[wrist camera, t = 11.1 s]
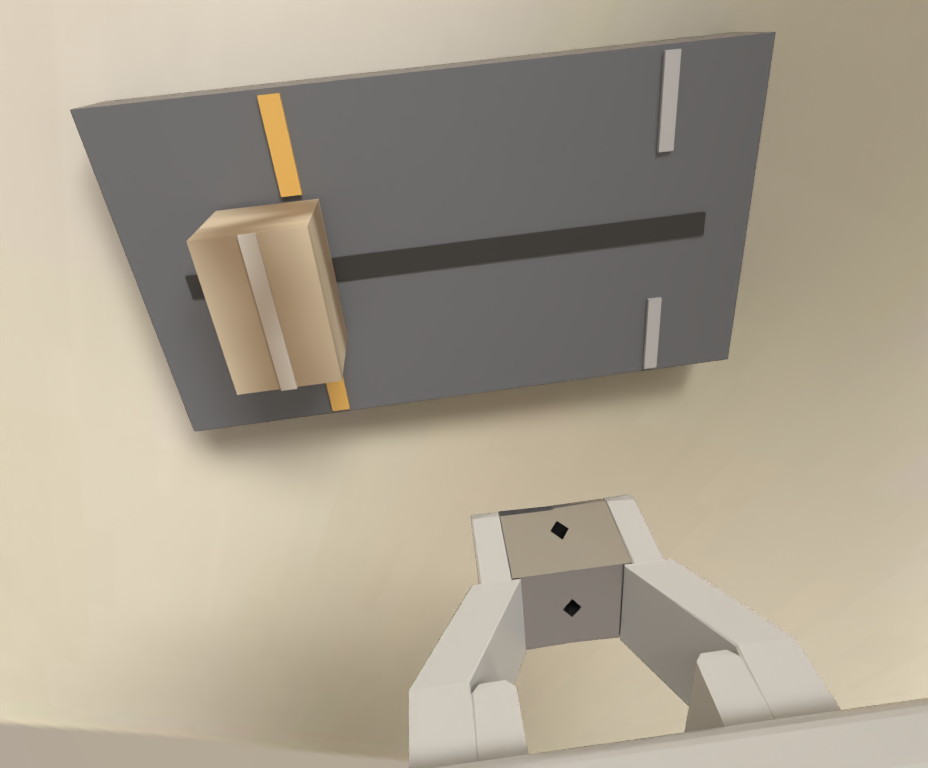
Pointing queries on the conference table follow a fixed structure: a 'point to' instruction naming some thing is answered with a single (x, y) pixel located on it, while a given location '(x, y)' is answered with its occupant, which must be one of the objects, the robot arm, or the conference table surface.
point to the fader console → (459, 214)
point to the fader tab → (272, 295)
